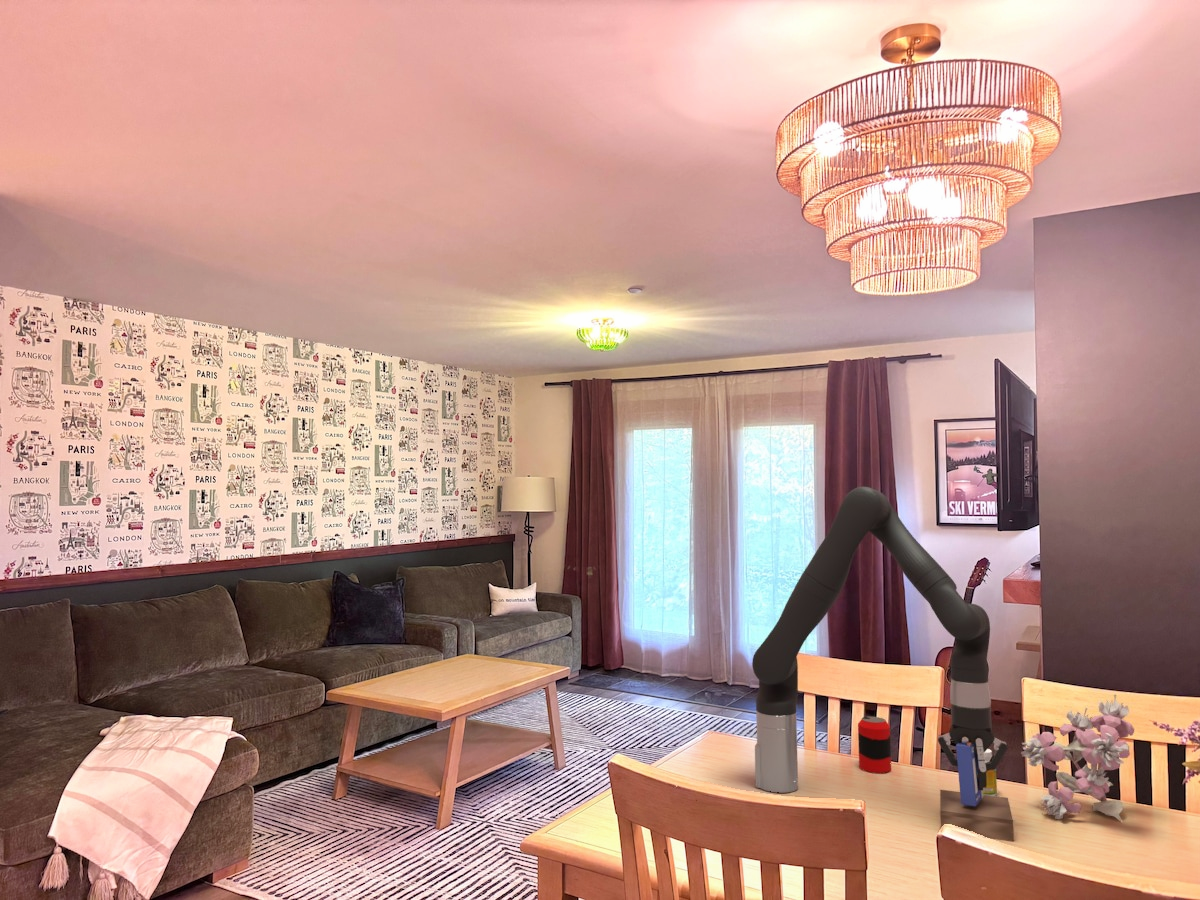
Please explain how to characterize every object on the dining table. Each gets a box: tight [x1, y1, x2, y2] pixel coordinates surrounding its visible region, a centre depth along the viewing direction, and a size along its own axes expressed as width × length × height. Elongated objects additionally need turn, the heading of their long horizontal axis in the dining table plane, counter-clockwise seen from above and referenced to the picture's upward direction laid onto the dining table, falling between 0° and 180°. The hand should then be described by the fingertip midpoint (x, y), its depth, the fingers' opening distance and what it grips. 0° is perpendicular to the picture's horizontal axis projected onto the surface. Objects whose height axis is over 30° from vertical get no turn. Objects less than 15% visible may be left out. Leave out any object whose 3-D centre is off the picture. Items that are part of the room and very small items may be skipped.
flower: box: [1020, 694, 1135, 821], centre depth 169 cm, size 20×22×25 cm
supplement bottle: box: [983, 748, 998, 796], centre depth 180 cm, size 5×5×10 cm
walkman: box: [955, 742, 983, 806], centre depth 164 cm, size 8×3×12 cm, turn 143°
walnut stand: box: [939, 789, 1015, 842], centre depth 163 cm, size 13×13×4 cm
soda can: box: [857, 716, 892, 774], centre depth 198 cm, size 8×8×12 cm
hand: (973, 787), depth 163 cm, fingers closed on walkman, 2 cm apart
